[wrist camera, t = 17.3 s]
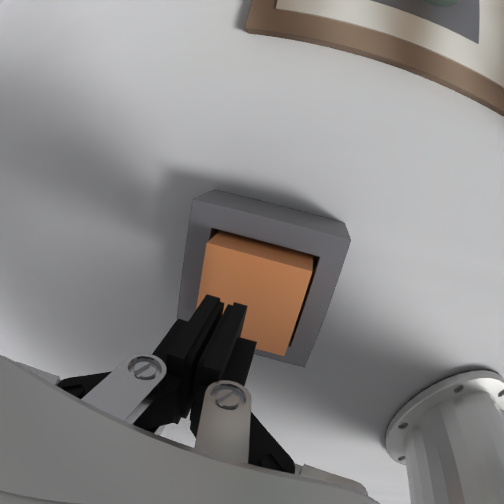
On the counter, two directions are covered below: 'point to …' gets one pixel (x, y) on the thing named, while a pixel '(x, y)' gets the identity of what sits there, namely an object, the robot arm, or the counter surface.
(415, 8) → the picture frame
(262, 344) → the button
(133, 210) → the counter surface
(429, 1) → the cylinder
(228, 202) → the button housing
